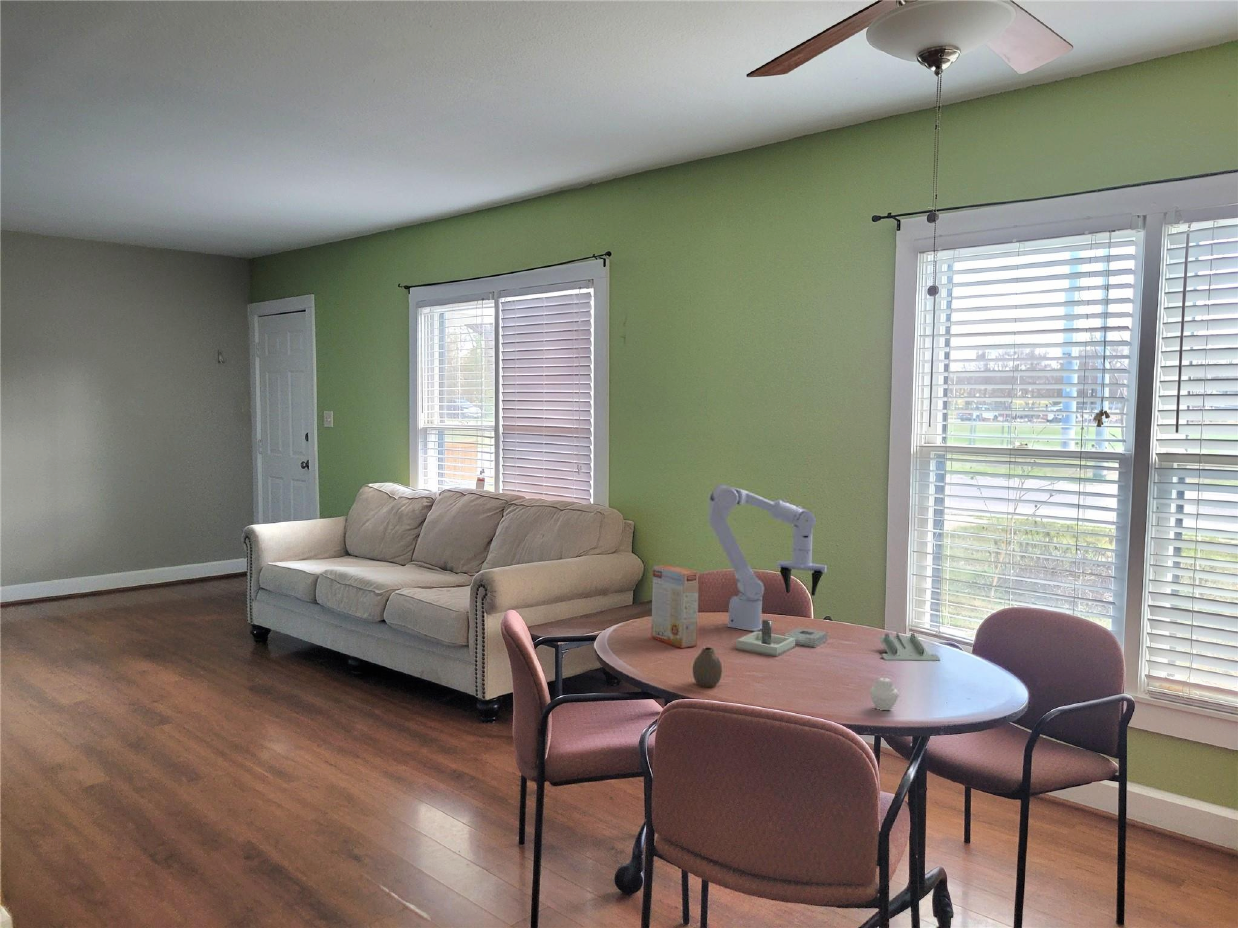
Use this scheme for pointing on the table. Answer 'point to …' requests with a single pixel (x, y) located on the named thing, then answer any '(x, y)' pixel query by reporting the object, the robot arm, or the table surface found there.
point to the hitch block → (807, 636)
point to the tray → (775, 649)
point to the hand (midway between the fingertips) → (800, 593)
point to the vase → (707, 668)
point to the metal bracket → (905, 648)
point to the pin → (766, 632)
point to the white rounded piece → (884, 694)
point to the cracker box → (675, 605)
